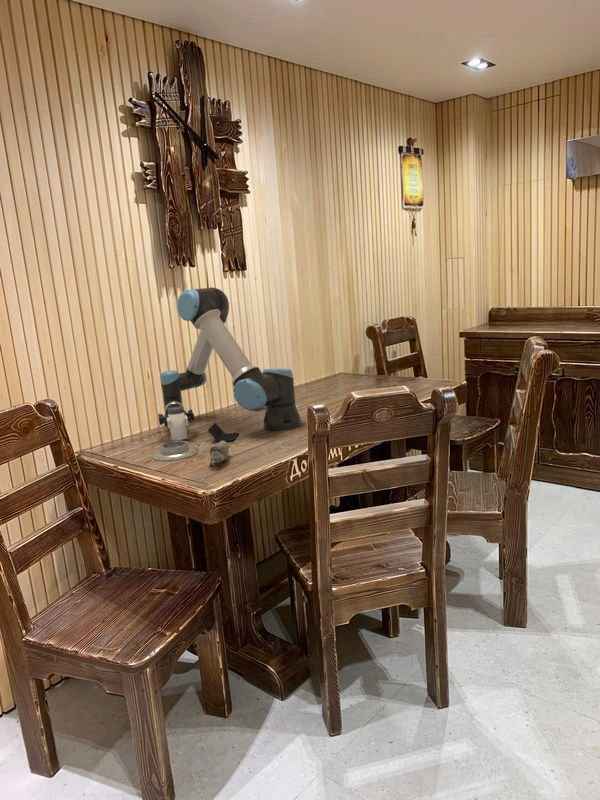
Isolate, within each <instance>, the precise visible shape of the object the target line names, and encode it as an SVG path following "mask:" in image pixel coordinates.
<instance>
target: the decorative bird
mask: <svg viewBox="0 0 600 800" xmlns="http://www.w3.org/2000/svg"><path fill="white" fill-rule="evenodd" d="M209 450H210V451H209V456H210V461H211V462H209V466H208V468H211V469H210V470H213V469H215V467H214V466H213V461H214V463H216V464H217V463H218V466H217V467H216V468H219V469H221V468H222V469H223V468H224V467H223V466H222V465H221V464H222V462H223V461H224V460H227V459H228V457H229V450H230V446H229V442H225V441H220V442H219V443H218V442H217V443H215V444H214V445H213V446H211V447H210V448H209Z"/></svg>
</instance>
